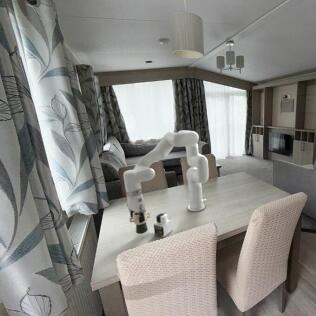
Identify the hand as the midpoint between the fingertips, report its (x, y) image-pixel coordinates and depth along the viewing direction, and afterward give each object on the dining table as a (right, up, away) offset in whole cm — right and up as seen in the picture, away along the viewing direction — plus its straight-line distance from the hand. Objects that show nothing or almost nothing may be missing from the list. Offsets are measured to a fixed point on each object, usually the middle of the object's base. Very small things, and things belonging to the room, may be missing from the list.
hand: (137, 219), depth 114 cm
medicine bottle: (+12, -10, +6) cm, 17 cm away
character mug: (+1, -8, +3) cm, 9 cm away
